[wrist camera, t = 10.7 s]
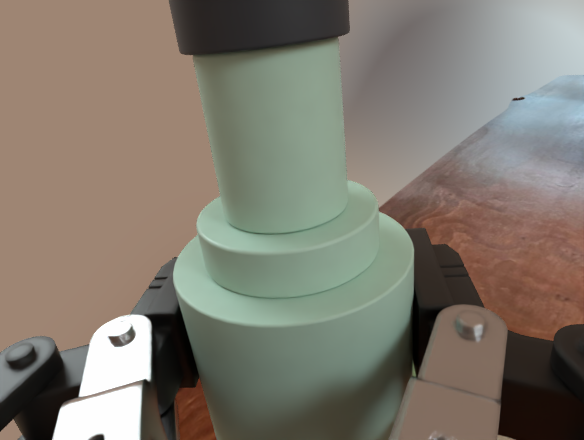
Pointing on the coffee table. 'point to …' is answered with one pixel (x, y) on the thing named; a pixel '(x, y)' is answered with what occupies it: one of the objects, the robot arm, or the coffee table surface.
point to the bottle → (289, 236)
